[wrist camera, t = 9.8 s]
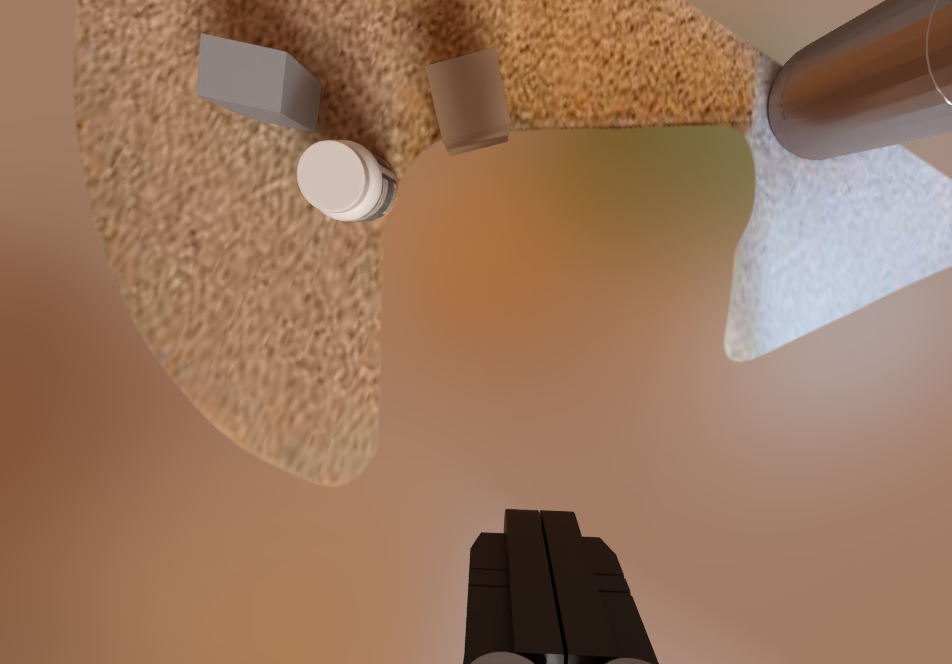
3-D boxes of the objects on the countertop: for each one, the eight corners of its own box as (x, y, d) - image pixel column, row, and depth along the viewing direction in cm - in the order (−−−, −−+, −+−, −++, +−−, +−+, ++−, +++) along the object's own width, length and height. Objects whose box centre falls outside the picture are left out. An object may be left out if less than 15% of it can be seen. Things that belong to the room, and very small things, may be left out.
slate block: (322, 83, 39) (286, 51, 32) (316, 133, 40) (280, 112, 33) (251, 67, 39) (201, 33, 32) (247, 118, 40) (196, 94, 33)
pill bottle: (323, 174, 40) (271, 156, 31) (379, 142, 40) (344, 113, 30) (356, 233, 41) (315, 234, 32) (411, 203, 41) (387, 194, 31)
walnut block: (494, 79, 38) (495, 46, 32) (507, 141, 39) (510, 123, 33) (436, 94, 39) (424, 66, 32) (450, 156, 40) (442, 140, 33)
